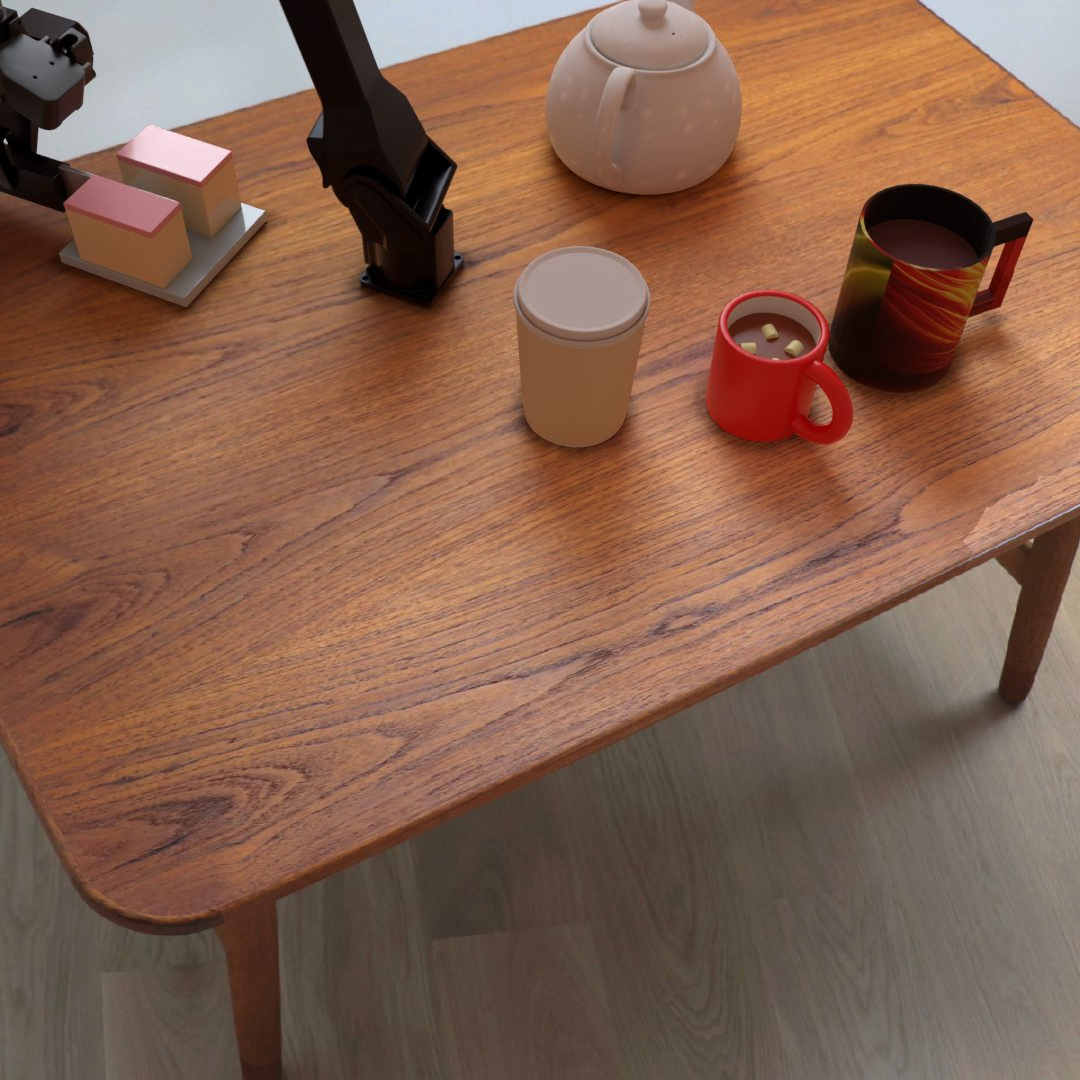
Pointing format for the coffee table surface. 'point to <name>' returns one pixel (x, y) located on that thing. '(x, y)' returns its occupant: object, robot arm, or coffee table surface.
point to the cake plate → (195, 268)
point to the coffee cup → (579, 342)
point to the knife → (43, 178)
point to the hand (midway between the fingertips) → (19, 179)
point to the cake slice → (129, 230)
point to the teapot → (644, 99)
